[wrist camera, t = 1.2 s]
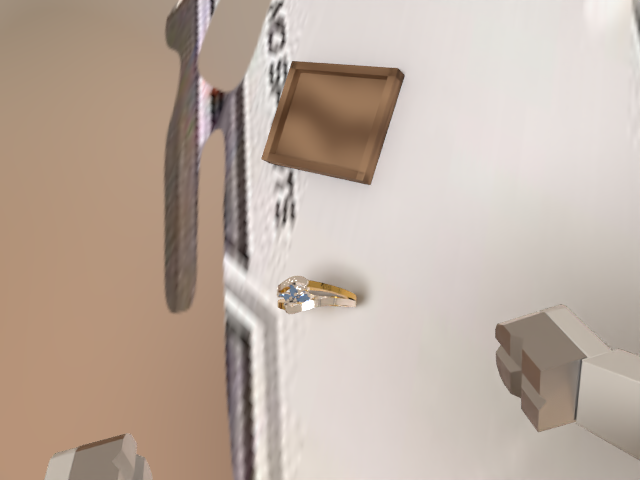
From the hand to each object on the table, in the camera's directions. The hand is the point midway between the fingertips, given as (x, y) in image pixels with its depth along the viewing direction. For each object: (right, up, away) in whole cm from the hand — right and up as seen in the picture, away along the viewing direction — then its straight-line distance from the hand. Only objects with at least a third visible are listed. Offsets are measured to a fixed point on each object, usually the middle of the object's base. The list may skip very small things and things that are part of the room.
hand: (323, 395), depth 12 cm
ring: (+2, -3, +39) cm, 39 cm away
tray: (+1, +15, +43) cm, 46 cm away
